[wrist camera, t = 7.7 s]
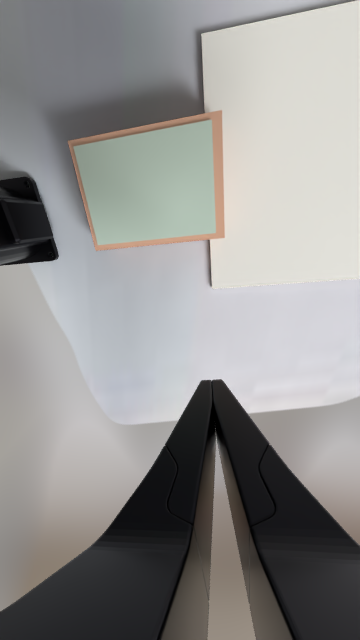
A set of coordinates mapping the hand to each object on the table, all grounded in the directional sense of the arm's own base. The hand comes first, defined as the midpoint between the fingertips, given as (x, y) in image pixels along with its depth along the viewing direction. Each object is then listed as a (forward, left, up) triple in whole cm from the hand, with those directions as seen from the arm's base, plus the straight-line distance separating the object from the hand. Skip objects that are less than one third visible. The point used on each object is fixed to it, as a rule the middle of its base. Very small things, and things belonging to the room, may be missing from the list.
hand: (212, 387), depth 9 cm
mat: (+9, +8, -13) cm, 17 cm away
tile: (+2, +8, -11) cm, 14 cm away
